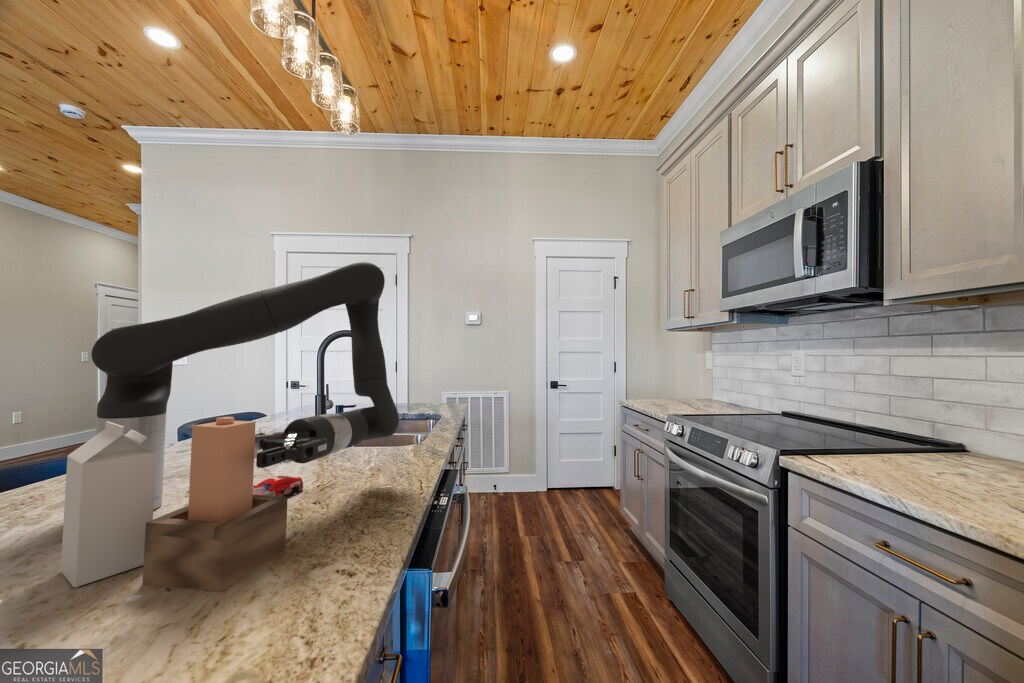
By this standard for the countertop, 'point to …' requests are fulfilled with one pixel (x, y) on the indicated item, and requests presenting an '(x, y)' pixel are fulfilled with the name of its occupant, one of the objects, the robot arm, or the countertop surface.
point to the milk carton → (107, 505)
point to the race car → (279, 486)
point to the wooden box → (213, 546)
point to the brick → (221, 470)
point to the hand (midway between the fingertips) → (234, 458)
